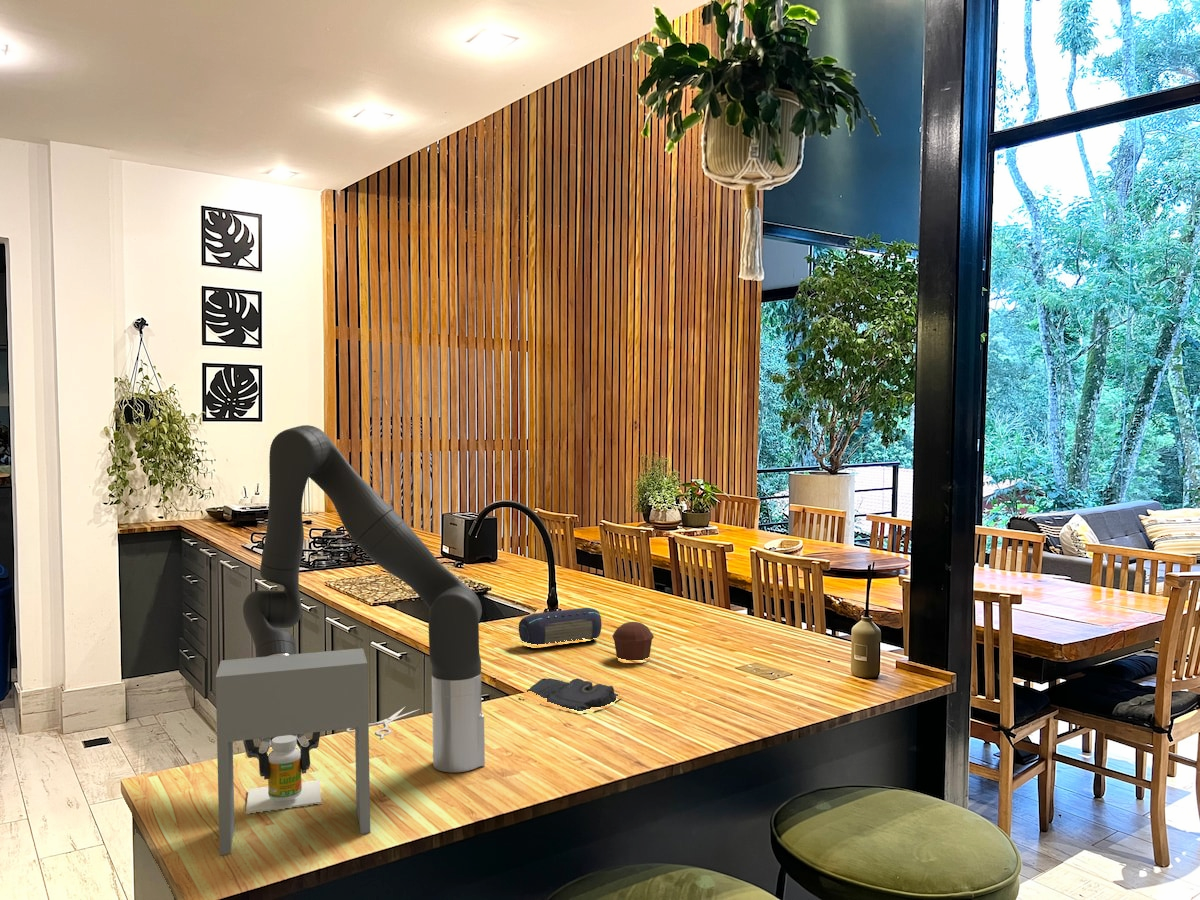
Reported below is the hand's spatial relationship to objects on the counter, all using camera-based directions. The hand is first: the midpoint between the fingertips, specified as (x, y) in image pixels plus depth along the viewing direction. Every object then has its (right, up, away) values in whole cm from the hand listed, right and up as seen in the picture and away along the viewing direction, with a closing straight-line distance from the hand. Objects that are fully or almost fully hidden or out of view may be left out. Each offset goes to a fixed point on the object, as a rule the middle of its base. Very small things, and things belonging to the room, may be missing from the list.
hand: (285, 774), depth 152 cm
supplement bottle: (-1, -4, +2) cm, 5 cm away
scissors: (+7, -5, +44) cm, 45 cm away
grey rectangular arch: (+5, -6, -9) cm, 12 cm away
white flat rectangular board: (-2, -5, +4) cm, 7 cm away
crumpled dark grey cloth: (+46, -4, +58) cm, 74 cm away
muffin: (+62, -3, +93) cm, 112 cm away
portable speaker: (+42, -2, +111) cm, 118 cm away
